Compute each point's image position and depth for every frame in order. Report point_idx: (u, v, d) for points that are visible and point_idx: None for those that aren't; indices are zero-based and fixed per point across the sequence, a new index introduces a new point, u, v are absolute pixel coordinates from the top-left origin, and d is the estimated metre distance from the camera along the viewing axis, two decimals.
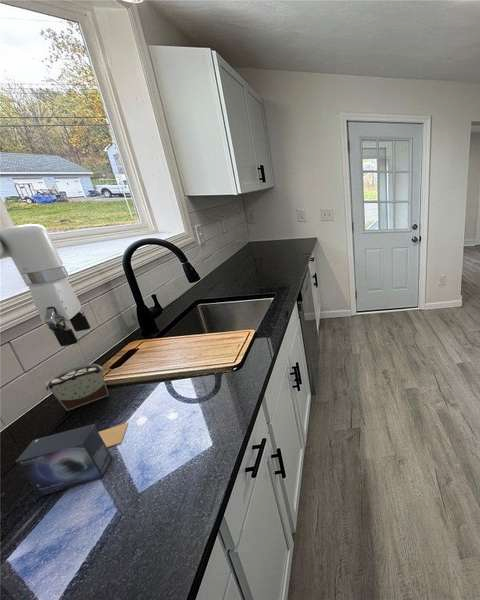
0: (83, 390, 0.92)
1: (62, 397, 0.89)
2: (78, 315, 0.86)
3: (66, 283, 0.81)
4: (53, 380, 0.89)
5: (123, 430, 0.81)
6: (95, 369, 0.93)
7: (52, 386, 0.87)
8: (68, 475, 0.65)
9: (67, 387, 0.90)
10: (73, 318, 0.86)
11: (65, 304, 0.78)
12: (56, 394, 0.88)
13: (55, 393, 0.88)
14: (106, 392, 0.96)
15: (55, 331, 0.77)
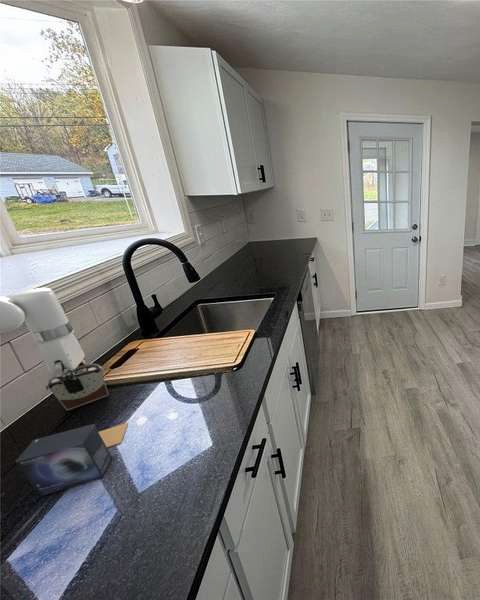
0: (83, 390, 0.92)
1: (62, 397, 0.89)
2: None
3: (71, 336, 0.90)
4: (53, 380, 0.89)
5: (123, 430, 0.81)
6: (95, 369, 0.94)
7: (52, 386, 0.87)
8: (68, 475, 0.65)
9: None
10: None
11: (70, 357, 0.88)
12: (56, 394, 0.88)
13: (55, 393, 0.88)
14: (106, 392, 0.96)
15: (64, 381, 0.87)
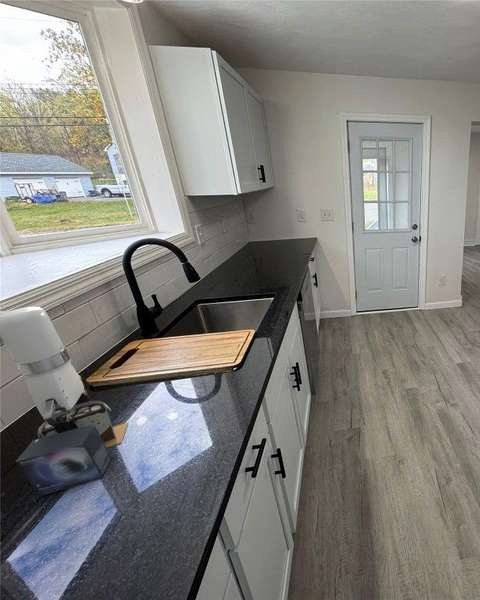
0: None
1: None
2: (80, 396, 0.78)
3: (67, 366, 0.72)
4: (47, 424, 0.71)
5: (123, 430, 0.81)
6: (99, 408, 0.76)
7: (46, 433, 0.70)
8: (68, 475, 0.65)
9: None
10: None
11: (66, 393, 0.70)
12: None
13: None
14: (113, 435, 0.78)
15: (55, 425, 0.68)
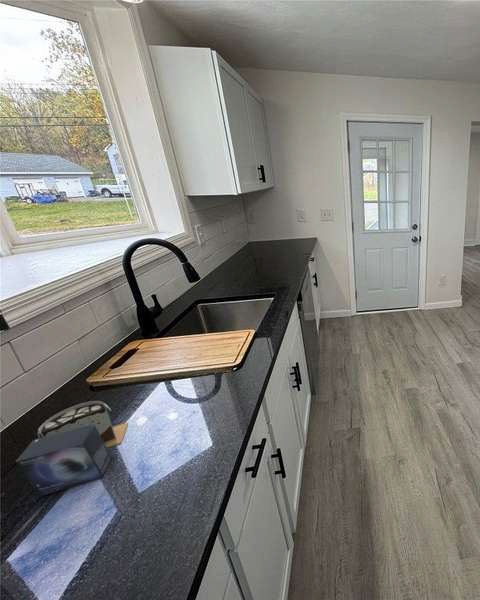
0: None
1: None
2: None
3: None
4: (47, 424, 0.71)
5: (123, 430, 0.81)
6: (99, 408, 0.76)
7: (46, 433, 0.70)
8: (68, 475, 0.65)
9: None
10: None
11: None
12: None
13: None
14: (113, 435, 0.78)
15: None
